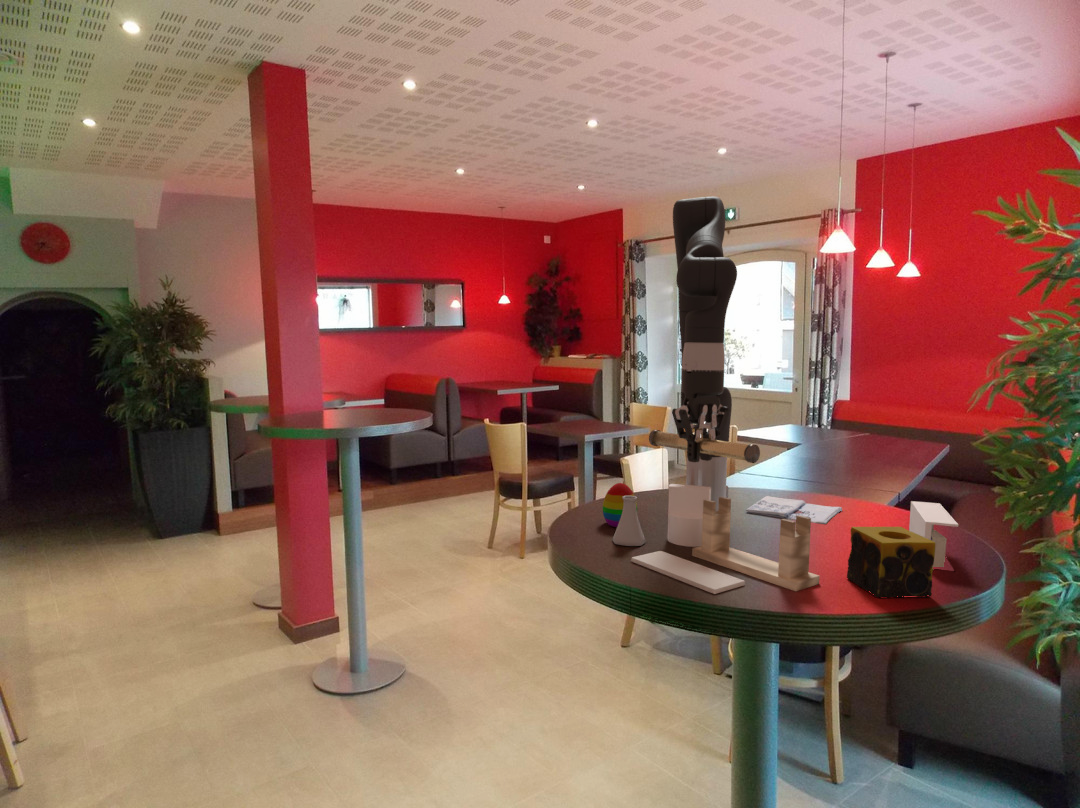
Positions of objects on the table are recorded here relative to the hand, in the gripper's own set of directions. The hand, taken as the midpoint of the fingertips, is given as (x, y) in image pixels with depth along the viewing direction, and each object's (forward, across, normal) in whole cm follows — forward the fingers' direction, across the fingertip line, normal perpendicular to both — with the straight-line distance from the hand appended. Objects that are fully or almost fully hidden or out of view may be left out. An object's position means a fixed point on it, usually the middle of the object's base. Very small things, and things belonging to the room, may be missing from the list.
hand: (699, 460), depth 127 cm
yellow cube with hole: (+22, -23, +25) cm, 40 cm away
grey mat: (+21, +2, -1) cm, 21 cm away
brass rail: (-1, 0, 0) cm, 1 cm away
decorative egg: (+21, -12, -33) cm, 41 cm away
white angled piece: (+21, -49, +20) cm, 57 cm away
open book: (+22, -58, -18) cm, 65 cm away
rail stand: (+21, -11, +5) cm, 24 cm away
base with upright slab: (+22, -15, -15) cm, 31 cm away
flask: (+22, -3, -22) cm, 31 cm away
